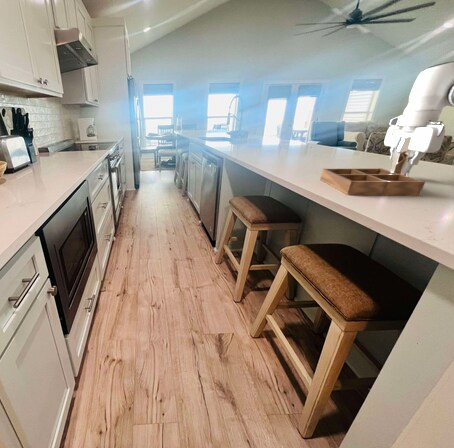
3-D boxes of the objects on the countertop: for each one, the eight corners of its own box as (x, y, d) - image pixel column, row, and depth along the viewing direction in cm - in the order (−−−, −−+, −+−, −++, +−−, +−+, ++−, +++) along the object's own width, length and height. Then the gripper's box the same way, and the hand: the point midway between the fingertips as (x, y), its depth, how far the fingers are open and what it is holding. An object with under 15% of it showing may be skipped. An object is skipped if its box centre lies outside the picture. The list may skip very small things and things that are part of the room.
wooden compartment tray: (377, 179, 90) (381, 168, 88) (419, 195, 72) (425, 181, 71) (320, 179, 93) (322, 168, 91) (347, 194, 76) (351, 181, 74)
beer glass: (392, 182, 86) (408, 138, 80) (379, 177, 93) (393, 136, 87) (414, 182, 85) (433, 137, 79) (400, 177, 92) (416, 135, 85)
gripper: (459, 120, 71) (438, 167, 76) (406, 119, 89) (392, 157, 95) (434, 121, 72) (415, 168, 78) (387, 119, 90) (374, 157, 96)
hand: (402, 162), depth 86 cm, fingers open, 8 cm apart
